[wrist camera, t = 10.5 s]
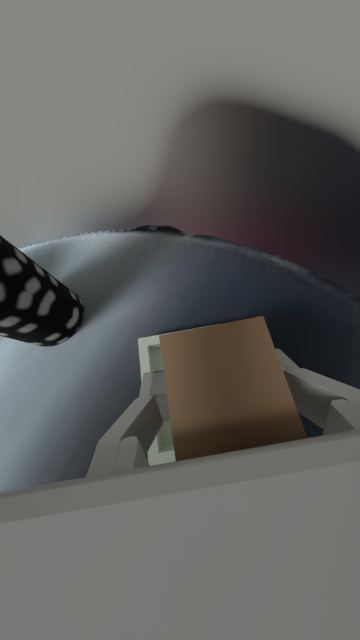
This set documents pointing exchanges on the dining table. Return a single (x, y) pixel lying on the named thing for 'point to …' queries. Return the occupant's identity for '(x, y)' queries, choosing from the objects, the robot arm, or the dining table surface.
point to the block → (227, 390)
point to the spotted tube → (34, 301)
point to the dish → (163, 441)
